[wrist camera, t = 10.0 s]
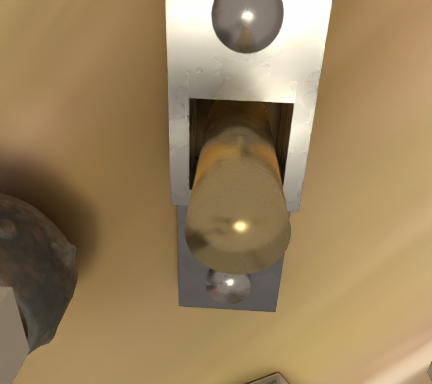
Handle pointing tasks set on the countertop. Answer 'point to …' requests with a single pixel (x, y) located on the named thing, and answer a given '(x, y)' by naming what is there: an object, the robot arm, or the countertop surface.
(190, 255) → the chain end
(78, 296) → the countertop surface
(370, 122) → the countertop surface
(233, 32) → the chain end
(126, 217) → the countertop surface
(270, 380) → the container
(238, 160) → the pin
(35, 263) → the bowl
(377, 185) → the countertop surface
